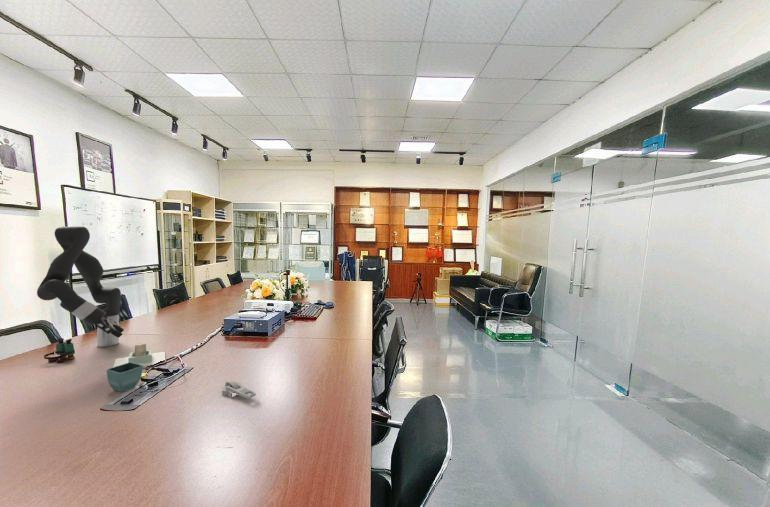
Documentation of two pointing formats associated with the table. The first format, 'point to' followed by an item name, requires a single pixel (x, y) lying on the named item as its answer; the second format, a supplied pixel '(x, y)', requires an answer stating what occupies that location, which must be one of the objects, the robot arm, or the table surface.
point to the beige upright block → (140, 349)
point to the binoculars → (62, 351)
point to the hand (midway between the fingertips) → (121, 333)
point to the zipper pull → (236, 389)
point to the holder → (142, 359)
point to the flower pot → (124, 376)
